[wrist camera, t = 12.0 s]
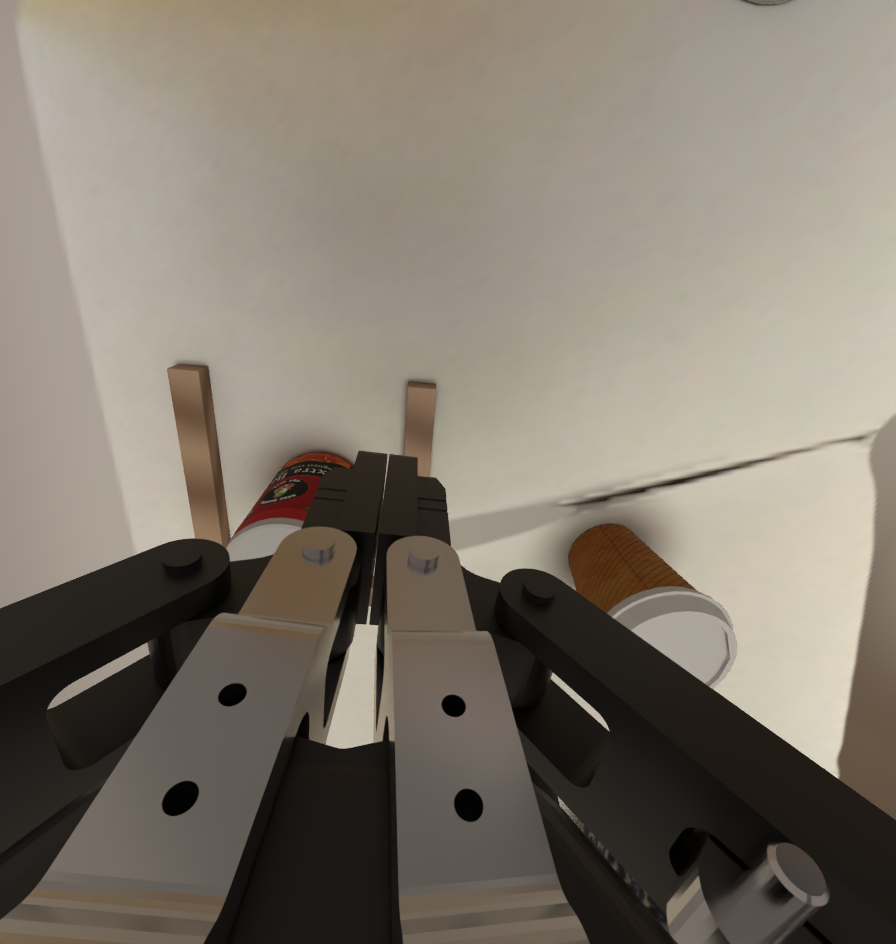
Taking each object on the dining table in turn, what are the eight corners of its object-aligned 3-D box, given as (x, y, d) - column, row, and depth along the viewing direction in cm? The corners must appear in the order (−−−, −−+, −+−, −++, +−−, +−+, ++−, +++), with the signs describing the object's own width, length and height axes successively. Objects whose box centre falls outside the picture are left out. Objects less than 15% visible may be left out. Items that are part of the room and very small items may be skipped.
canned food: (356, 440, 34) (328, 511, 24) (382, 527, 38) (367, 622, 28) (259, 459, 35) (192, 538, 25) (293, 544, 38) (247, 644, 28)
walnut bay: (178, 364, 31) (166, 368, 30) (435, 384, 33) (436, 389, 32) (213, 588, 40) (205, 599, 38) (418, 596, 41) (418, 607, 40)
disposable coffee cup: (635, 602, 42) (708, 718, 32) (538, 590, 41) (578, 707, 30) (673, 515, 39) (771, 613, 28) (567, 500, 38) (626, 596, 27)
